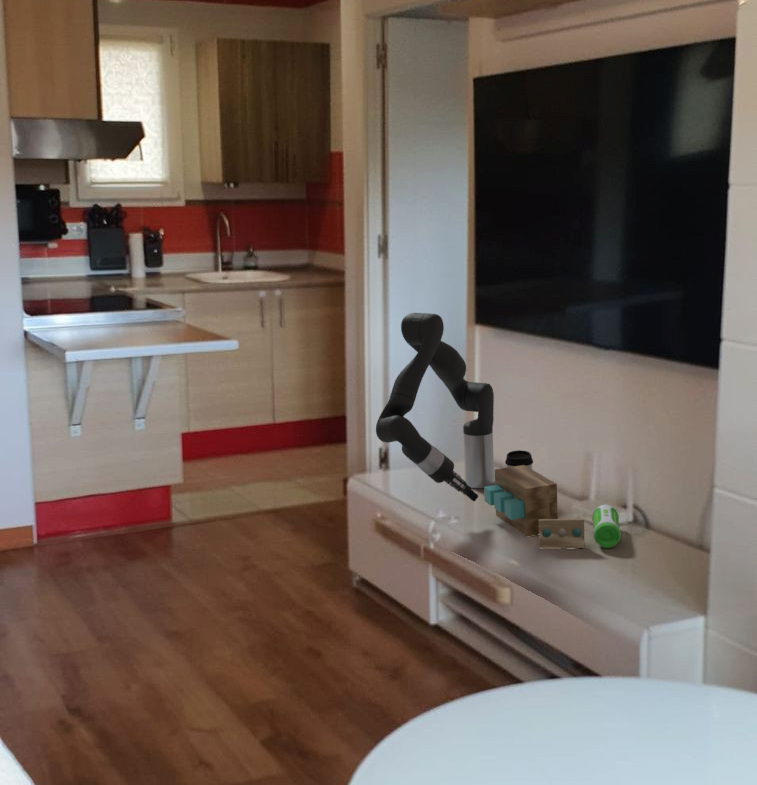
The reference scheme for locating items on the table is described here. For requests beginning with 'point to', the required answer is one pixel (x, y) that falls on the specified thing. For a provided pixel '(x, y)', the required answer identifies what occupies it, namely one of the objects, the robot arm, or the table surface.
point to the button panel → (528, 497)
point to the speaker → (606, 526)
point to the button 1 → (491, 493)
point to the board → (561, 533)
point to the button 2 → (514, 508)
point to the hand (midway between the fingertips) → (475, 498)
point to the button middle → (501, 500)
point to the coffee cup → (519, 459)
